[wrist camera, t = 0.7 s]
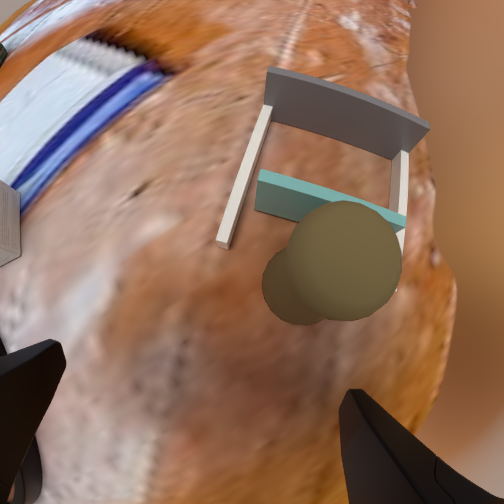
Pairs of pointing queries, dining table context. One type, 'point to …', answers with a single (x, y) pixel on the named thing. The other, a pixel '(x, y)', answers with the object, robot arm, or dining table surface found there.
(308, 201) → the pusher paddle
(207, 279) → the dining table surface
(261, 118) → the pusher lane
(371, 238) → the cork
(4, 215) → the supplement box
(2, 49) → the coffee jar
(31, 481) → the wall clock
